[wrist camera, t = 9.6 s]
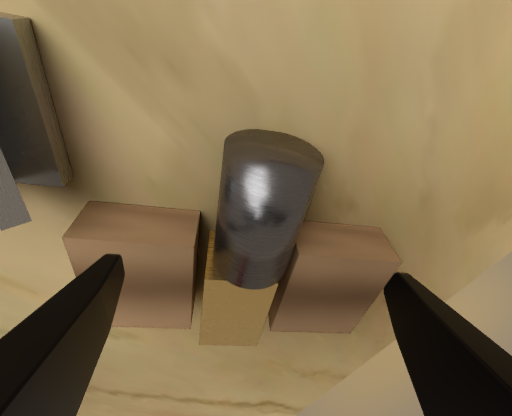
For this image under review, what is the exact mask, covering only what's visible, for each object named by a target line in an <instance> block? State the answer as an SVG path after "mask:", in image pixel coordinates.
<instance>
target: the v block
mask: <svg viewBox="0 0 512 416" xmlns="http://www.w3.org/2000/svg"><path fill="white" fill-rule="evenodd" d="M72 178H73V175H72V171H71V167H70V164H69V160H68V157H67V153H66V149H65V146H64V142H63V138H62V135H61V131H60V127H59V124H58V120H57V117H56V113H55V109H54V106H53V102H52V98H51V95H50V91H49V88H48V84H47V80H46V77H45V73H44V69H43V66H42V62H41V58H40V55H39V51H38V48H37V44H36V40H35V37H34V33H33V29H32V26H31V22H30V19H29V18H28V17H22V16H17V15H11V14H6V13H0V229H1V231H2V230H5V229H8V228H11V227H14V226H17V225H20V224H23V223H26V222H29V221H32V220H31V218H30V216H29V213H28V211H27V209H26V206H25V204H24V202H23V199H22V197H21V195H20V193H19V190H18V188H17V186H16V183H24V184H34V185H44V186H54V187H64V186H65V185H66V184H67V183H68V182H69V181H70V180H71V179H72Z"/></svg>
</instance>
